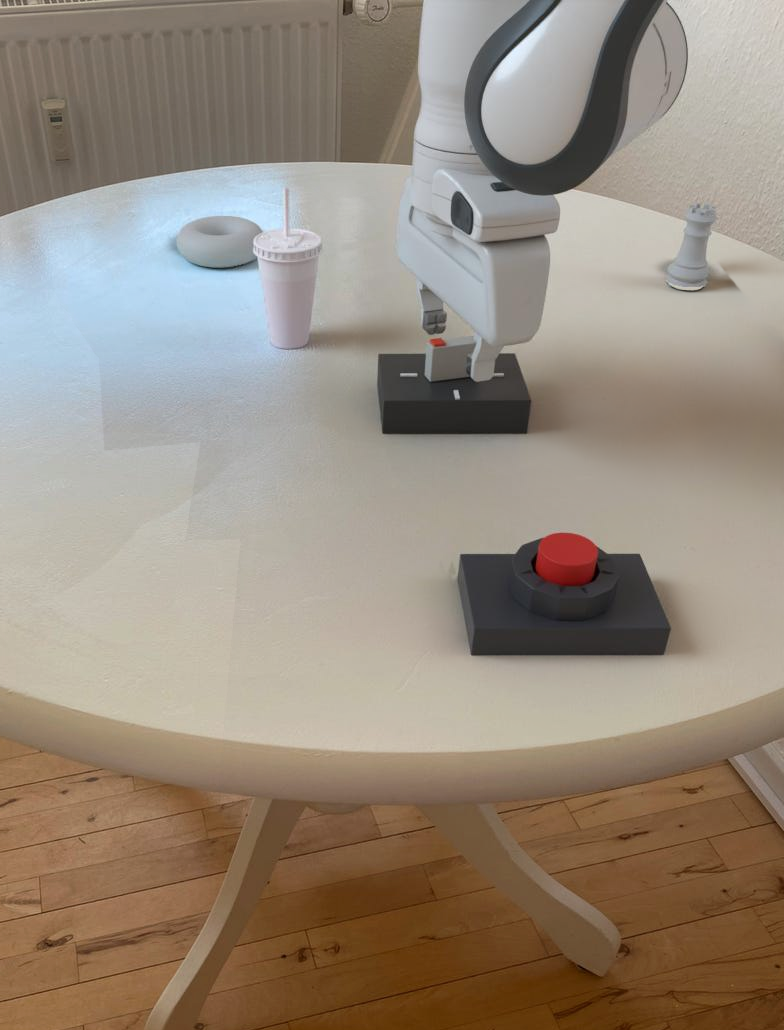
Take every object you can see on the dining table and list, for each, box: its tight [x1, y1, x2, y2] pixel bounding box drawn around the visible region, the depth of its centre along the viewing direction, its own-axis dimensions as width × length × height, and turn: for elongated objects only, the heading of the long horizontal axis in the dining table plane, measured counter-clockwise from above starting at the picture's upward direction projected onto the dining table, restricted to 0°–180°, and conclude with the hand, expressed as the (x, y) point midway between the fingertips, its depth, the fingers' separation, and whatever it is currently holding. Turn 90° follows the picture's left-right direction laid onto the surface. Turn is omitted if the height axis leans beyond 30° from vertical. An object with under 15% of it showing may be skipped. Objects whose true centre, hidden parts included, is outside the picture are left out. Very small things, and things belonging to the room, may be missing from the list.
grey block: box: [425, 335, 477, 382], centre depth 88 cm, size 4×1×3 cm, turn 106°
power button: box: [536, 532, 598, 586], centre depth 66 cm, size 4×4×2 cm
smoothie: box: [253, 186, 324, 350], centre depth 98 cm, size 6×6×14 cm
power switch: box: [456, 537, 672, 656], centre depth 68 cm, size 12×8×4 cm, turn 90°
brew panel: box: [376, 352, 532, 434], centre depth 90 cm, size 12×9×3 cm
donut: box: [176, 215, 264, 269], centre depth 119 cm, size 10×4×10 cm
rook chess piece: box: [665, 202, 718, 287], centre depth 110 cm, size 4×4×8 cm
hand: (454, 353), depth 88 cm, fingers open, 8 cm apart
